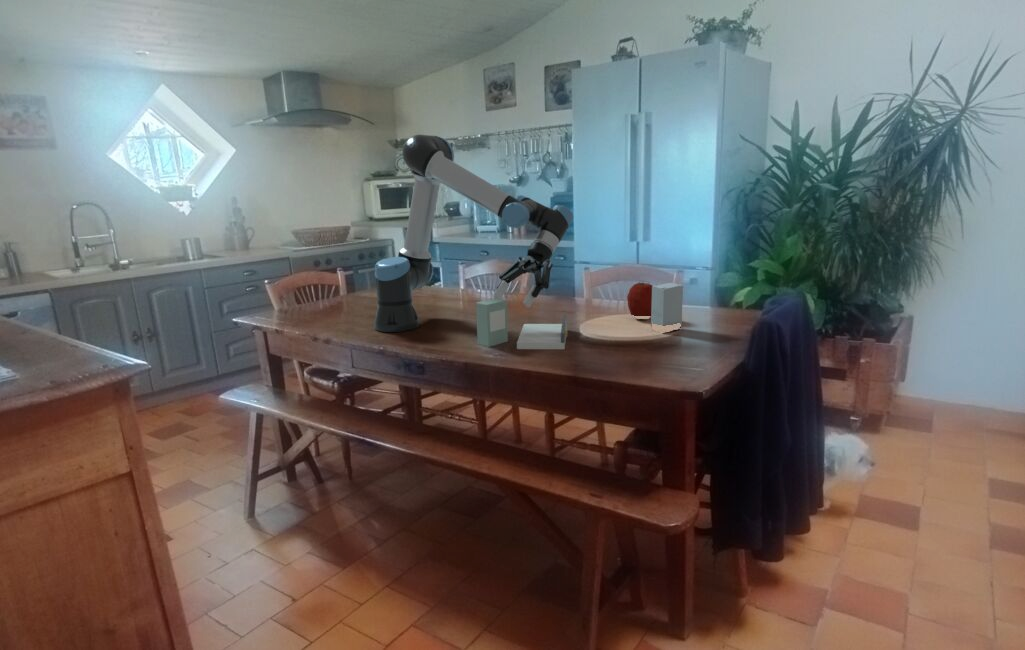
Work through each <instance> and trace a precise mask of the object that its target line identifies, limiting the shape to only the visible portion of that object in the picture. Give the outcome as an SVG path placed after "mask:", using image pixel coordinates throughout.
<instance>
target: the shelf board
mask: <svg viewBox="0 0 1025 650" xmlns="http://www.w3.org/2000/svg"><path fill="white" fill-rule="evenodd" d="M567 318H568V317H567V314H563V316H562V321H561V322H562V323H524V324H523V326H522V329H521V330H520V334H519V336H518V339H517V341H516V350H565V347H566V339H567V337H568V325H567V320H568V319H567Z"/></svg>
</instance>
